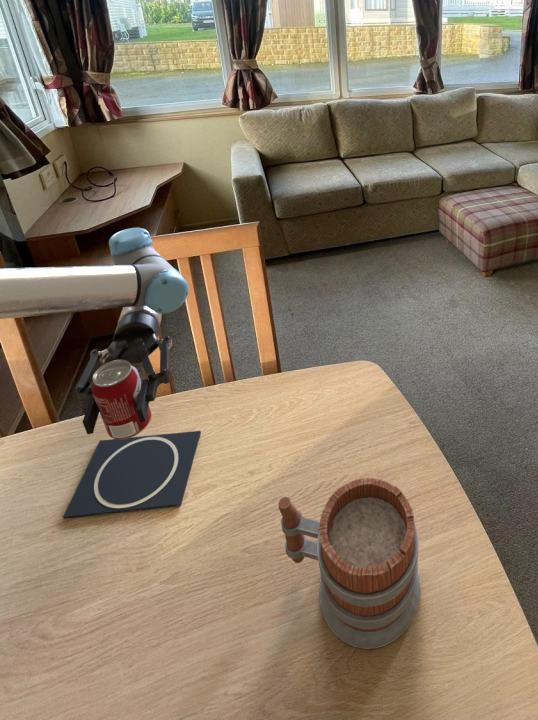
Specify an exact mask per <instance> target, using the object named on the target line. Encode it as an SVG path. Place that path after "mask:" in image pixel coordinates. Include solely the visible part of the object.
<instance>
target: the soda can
mask: <svg viewBox="0 0 538 720" xmlns="http://www.w3.org/2000/svg"><path fill="white" fill-rule="evenodd" d="M107 362H108V361H107ZM107 362H105V363H104V364H102V366H101V367H100V368H99V369H98V370H97V371H96V372H95V373H94V375H93V383H92V386H91V391H92V394H93V396H94V399H95V401H96V404H97V407H98V409H99V414H100V417H101V420H102V422H103V425H104V427H105V430H106V432H107V434H108V436H109V438H111V439H117V440H123V439H128V438H131V437H136V436H137V435H139V434H140V433H142V432H143V431H144V430H145V429H146V428H147V427H148V426H149V424H150V423H151V420H152V416H153V415H152V411H151V407H150V405H148V410H147V416H146V421H145V422H141V423H140V420H139V417H138V414H137V411H136V409H137V404H138V399H139V394H140V390H141V385H142V379H141V376H140V374H139V370H138V369H137V368H136V367H135V366H133V365H132V364H130V362H128V361H126V360H115V361H111V362H108V363H107Z"/></svg>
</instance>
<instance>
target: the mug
mask: <svg viewBox="0 0 538 720" xmlns="http://www.w3.org/2000/svg"><path fill="white" fill-rule="evenodd" d="M277 506H278V510H279V511H280V515H281V519H280V525H281V530H282V533H283V534H284V537H285V538H284V539H285V542H284V550H285V554H286V555H287V557H288V558H290V559H291V560H292V561H293V562H294V563H295V564H300V563H302V562H303V561H304V559H305V558H308V559H311V560H315V561H318V567H319V575H320V577H319V578H320V580H319V588H318V589H319V590H318V591H319V592H318V595H319V606H320V608H321V612H322V616H323V618H324V620H325V622H326V624H327V626H328V627H329V629H330V630H331V631H332V633H334V635H335V636H337V637H338V638H339V639H340V640H341V641H342V642H344V643H346V644H348V645H350V646H352V647H354V648H360V649H364V650H367V649H378V648H381V647H384V646H388V645H389V644H391V643H392V642H394V641H396V640H398V638H400V636H402V635H403V634H404V633H405V632H406V631H407V629H408V628H409V626H410V625H411V624H412V622H413V620H414V618H415V615H416V614H417V612H418V608H419V604H420V600H421V589H422V588H421V577H420V574H419V564H418V559H419V558H418V557H419V533H418V529H417V525H416V522H415V516H414V512H413V508H412V506H411V504H410V502H409V500H408V498H407V497H406V495H404V494H403V491H402V490H401V489H400V488H399V487H398V486H396V485H393V484H391V483H389V482H387V481H385V480H382V479H378V478H374V477H363V478H358V479H356V480H352V481H350V482H347V483H346V484H344V485H342V486H341V487H338V488H337V489H336V490H335V491H334V492H333V493H332V494H331V495H330V497H329V498H328V500H327V501H326V503H325V506H324V507H323V508H322V509H323V510H322V512H321V516H320V519H319V520H316V519H312V518H309V517H306V516H303V513H302V512H301V510H299V509H297V508H296V505H295V503H294V504H293V502H291V499H290V498H289V497H288V496H283V497H281V498H280V499H279V501H278V505H277ZM306 537H310V538H314V539H317V541H314V540H312V539H307V538H306Z"/></svg>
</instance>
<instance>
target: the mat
mask: <svg viewBox="0 0 538 720" xmlns="http://www.w3.org/2000/svg"><path fill="white" fill-rule="evenodd" d="M201 433H202V431H201V430H194V431H183V432H182V431H181V432H173V433H163V434H151V435H142V436H141V435H140V436H133V437H131V438H128V439H123V440H117V439H113V438H111V439H100V440H99V441H98V443H97V445H96V447H95V450H94V451H93V454H92V456H91V458H90V460H89V462H88V464H87V466H86V468H85V470H84V473H83V474H82V476H81V478H80V481H79V482H78V484H77V487H76V489H75V490H74V493H73V494H72V497H71V499H70V502H69V503H68V506H67V508H66V510H65V511H64V514H63V515H62V519H64V520H65V519H72V518H81V517H82V518H83V517H90V516H99V515H101V516H102V515H108V514H119V513H127V512H128V513H129V512H135V511H146V510H153V509H155V510H156V509H163V508H172V507H181V506H182V503H183V499H184V496H185V492H186V488H187V484H188V480H189V477H190V475H191V471H192V467H193V462H194V460H195V455H196V453H197V452H196V451H197V448H198V444H199V440H200V438H201Z"/></svg>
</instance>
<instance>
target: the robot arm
mask: <svg viewBox="0 0 538 720" xmlns="http://www.w3.org/2000/svg"><path fill="white" fill-rule="evenodd" d="M153 244H154V243H153V239H152V238H151V235H150V232H149V231H148V230H147V229H145V228H141V227H131V228H125V229H123V230H120V231H118V232H116V233H114V234H113V235H111V237H110V238H109V240H108V246H109V250H110V256H111V258H112V261H113V263H114V264H111V265H107V264H106V265H79V266H78V265H77V266H76V265H75V266H48V267H47V266H46V267H45V266H44V267H43V266H42V267H41V266H40V267H16V268H15V267H12V268H9V267H8V268H0V320H6V319H14V318H15V319H16V318H17V319H18V318H26V317H27V318H28V317H39V316H47V315H57V314H67V313H79V312H89V311H98V310H99V311H100V310H110V309H121V308H122V309H121V312H120V316H119V318H118V320H117V325H116V328H115V330H114V334H113V337H112V342H111V343H110V345H109V346H108V348H106V349H104V350H101V351H99V349H97V348H94V349H92V350H91V351H89V352H90V353H89V355H90V359H89V360H88V362H87V365H86V367H85V369H84V370H83V372H82V374H81V377H80V378H79V379H78V382H77V384H76V385H75V388H74V390H75V393H76V395H77V397H78V400H79V402H83V403H82V405H81V409H82V412H83V414H84V415H83V419H82V424H83V427H84V429H85V431H86V434H87V435H91V434H94V431H95V428H96V424H97V421H98V417H99V414H100V412H99V409H98V407H97V404H96V401H95V399H94V396H93V394H92V391H91V386H92V383H93V375H94V373H95V372H96V371H97V370H98V369H99V368H100V367H101V366H103V365H104V364H106V363H108V362H111V361H115V360H126V361H128V362H130V364H131V365H132V364H139V363H140V364H141V365H142V367H143V370H144V373H145V376H146V377H147V378H143V379H141V383H142V385H141V390H140V394H139V399H138V404H137V409H136V411H137V414H138V417H139V420H140V423H141V422H145V421H146V416H147V410H148V405H149V404H150V402H154V401H155V400H156V398H157V393H158V388H159V387H160V386H161V384H164V385H166V384H169V383H170V382H171V353H172V351H173V350H174V344H173V339H172V336H170V335H166V336H164V338H163V339H159V334H160V327H161V323H162V317H163V315H164V314H170V313H172V312H175V311H176V310H178V309H179V308H180V307H182V306H183V304H184V303H185V302H186V300H187V298H188V294H189V285H188V282H187V280H186V279H185V278H184V277H183V276H182V274H181V272H180V271H179V270H177V269H176V268H175V267H173V265H171V264H170V263H169V262H168V261H167V260H166V259H165V258H164V257H163V256H162V255H161V254H160V253H159V252H158V251H157V250H155V248H154V245H153ZM157 349H159V372H158V373H156V370H155V369H154V366H153V363H152V362H151V359H150V355H152V354H153V353H154V352H156V350H157ZM107 358H108V360H107V362H106V359H107ZM149 406H150V405H149Z"/></svg>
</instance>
